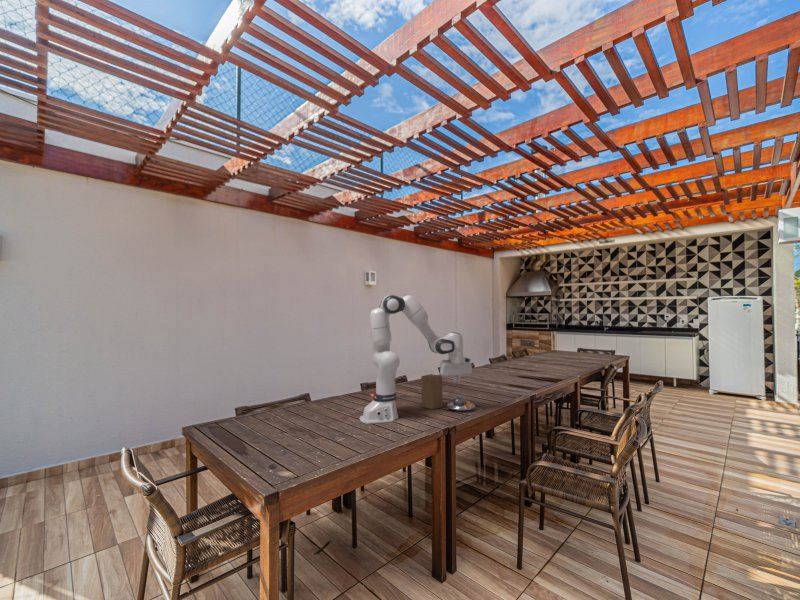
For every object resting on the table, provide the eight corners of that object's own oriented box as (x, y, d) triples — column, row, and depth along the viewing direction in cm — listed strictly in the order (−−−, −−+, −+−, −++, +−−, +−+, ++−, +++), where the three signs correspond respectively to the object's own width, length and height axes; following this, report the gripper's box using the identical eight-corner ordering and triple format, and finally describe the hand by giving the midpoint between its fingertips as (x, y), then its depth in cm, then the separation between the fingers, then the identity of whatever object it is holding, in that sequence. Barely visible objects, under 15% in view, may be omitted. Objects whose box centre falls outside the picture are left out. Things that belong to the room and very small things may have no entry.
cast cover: (457, 406, 218) (456, 398, 218) (450, 403, 226) (450, 396, 226) (468, 405, 221) (468, 397, 221) (461, 402, 228) (461, 394, 229)
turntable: (455, 413, 212) (455, 403, 213) (442, 407, 228) (442, 397, 229) (480, 410, 219) (480, 400, 219) (465, 403, 234) (465, 394, 235)
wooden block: (432, 410, 223) (431, 377, 223) (421, 407, 230) (420, 375, 231) (443, 407, 229) (442, 375, 230) (431, 404, 237) (431, 373, 237)
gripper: (443, 360, 209) (443, 384, 208) (473, 359, 216) (473, 382, 216) (438, 359, 215) (438, 382, 214) (467, 357, 222) (467, 380, 222)
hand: (456, 382), depth 215 cm, fingers closed
